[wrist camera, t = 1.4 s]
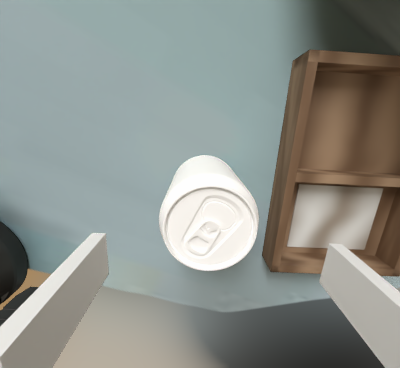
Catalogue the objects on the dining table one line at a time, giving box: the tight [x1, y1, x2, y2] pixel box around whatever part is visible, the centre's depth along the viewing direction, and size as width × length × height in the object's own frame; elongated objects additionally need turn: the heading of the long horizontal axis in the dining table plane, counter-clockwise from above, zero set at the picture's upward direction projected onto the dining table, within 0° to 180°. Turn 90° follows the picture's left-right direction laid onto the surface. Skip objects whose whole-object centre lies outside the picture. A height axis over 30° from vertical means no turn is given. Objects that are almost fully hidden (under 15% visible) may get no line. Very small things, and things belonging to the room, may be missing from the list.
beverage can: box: [159, 155, 259, 271], centre depth 21 cm, size 8×8×12 cm
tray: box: [262, 50, 400, 276], centre depth 25 cm, size 17×25×4 cm
